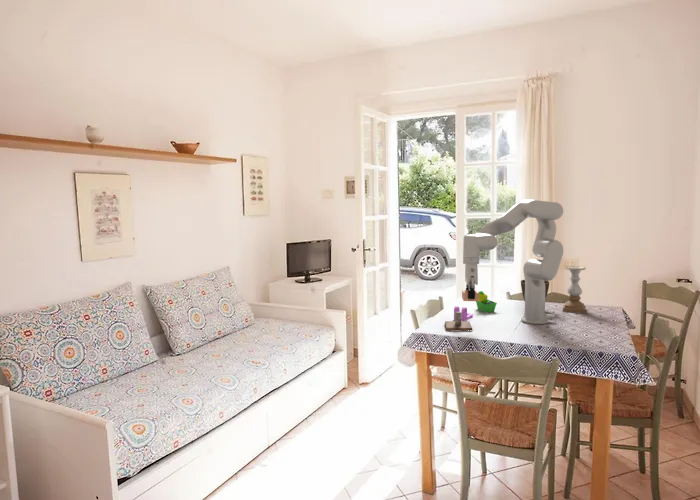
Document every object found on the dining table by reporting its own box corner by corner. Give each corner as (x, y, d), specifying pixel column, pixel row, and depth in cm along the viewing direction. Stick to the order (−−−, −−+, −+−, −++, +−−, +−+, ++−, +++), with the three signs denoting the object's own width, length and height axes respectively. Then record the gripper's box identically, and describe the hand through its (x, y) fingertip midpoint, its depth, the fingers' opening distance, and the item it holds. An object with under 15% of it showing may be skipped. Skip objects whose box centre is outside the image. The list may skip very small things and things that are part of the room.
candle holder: (585, 308, 270) (586, 266, 268) (584, 313, 261) (586, 269, 258) (564, 307, 275) (565, 265, 273) (562, 311, 266) (563, 268, 263)
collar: (476, 298, 238) (476, 290, 238) (478, 301, 231) (479, 293, 231) (461, 298, 239) (462, 290, 239) (463, 301, 232) (464, 292, 232)
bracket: (463, 321, 250) (464, 308, 249) (453, 320, 253) (453, 307, 253) (474, 316, 260) (474, 303, 259) (464, 315, 264) (464, 302, 263)
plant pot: (553, 312, 263) (553, 283, 261) (525, 313, 263) (525, 284, 262) (542, 306, 278) (543, 278, 276) (516, 307, 278) (516, 279, 276)
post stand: (469, 324, 244) (469, 309, 243) (472, 331, 232) (472, 315, 231) (444, 324, 245) (444, 309, 244) (446, 330, 233) (446, 315, 233)
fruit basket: (497, 312, 267) (497, 291, 266) (482, 313, 265) (483, 293, 264) (486, 307, 278) (486, 288, 277) (472, 308, 276) (472, 289, 275)
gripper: (482, 263, 224) (481, 301, 226) (476, 258, 241) (475, 293, 243) (465, 262, 225) (464, 300, 227) (460, 258, 242) (460, 293, 244)
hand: (470, 296), depth 235 cm, fingers closed on collar, 7 cm apart
